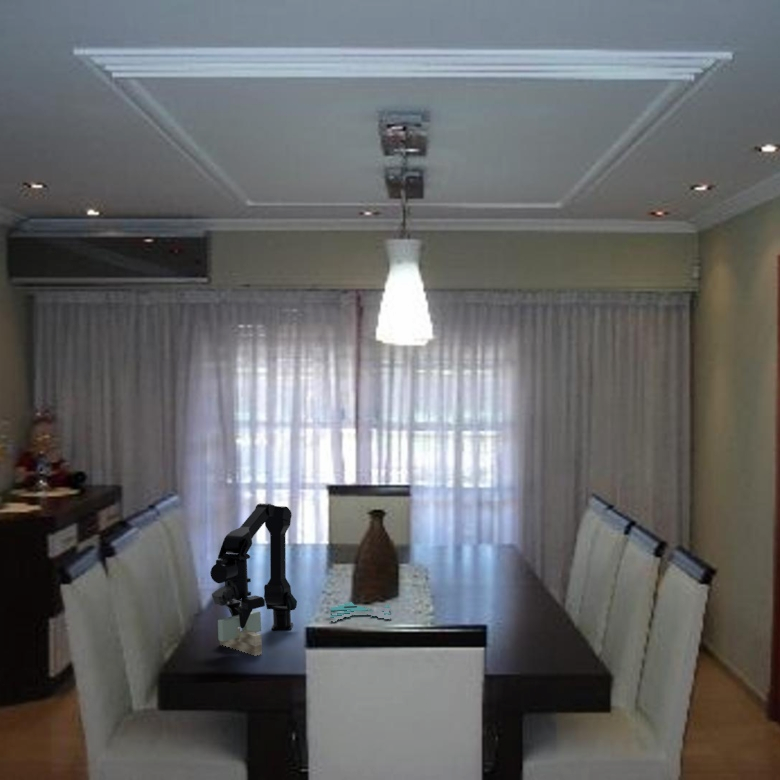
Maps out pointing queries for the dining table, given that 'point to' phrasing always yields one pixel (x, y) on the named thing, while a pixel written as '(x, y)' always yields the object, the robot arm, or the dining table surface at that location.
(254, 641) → the birch slotted board
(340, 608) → the alien figure
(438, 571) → the dining table surface
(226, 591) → the robot arm
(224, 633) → the pale green slotted board
